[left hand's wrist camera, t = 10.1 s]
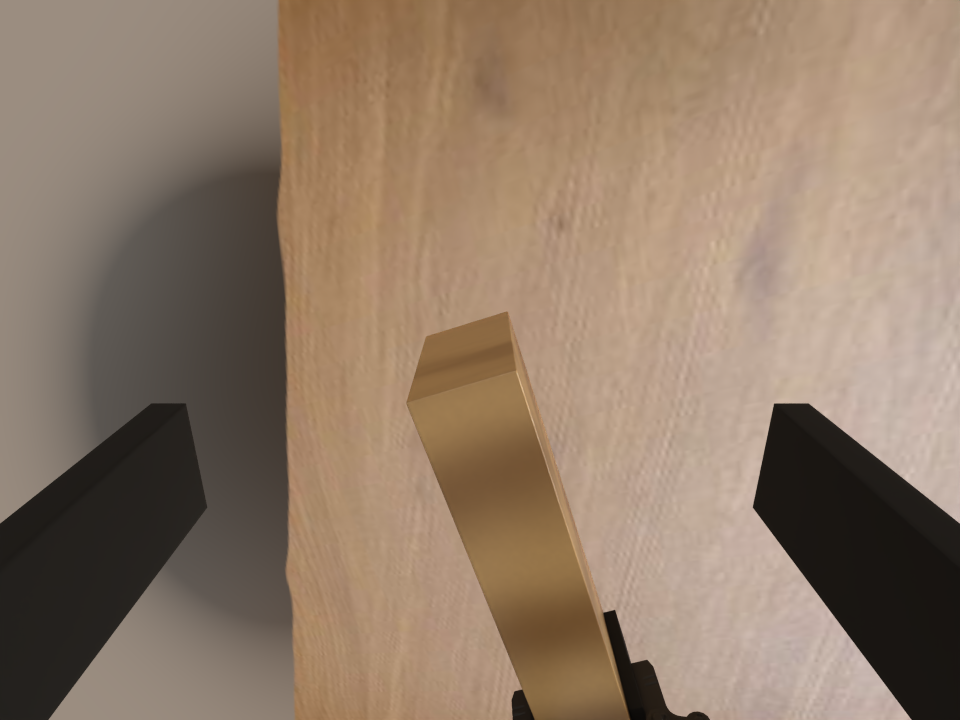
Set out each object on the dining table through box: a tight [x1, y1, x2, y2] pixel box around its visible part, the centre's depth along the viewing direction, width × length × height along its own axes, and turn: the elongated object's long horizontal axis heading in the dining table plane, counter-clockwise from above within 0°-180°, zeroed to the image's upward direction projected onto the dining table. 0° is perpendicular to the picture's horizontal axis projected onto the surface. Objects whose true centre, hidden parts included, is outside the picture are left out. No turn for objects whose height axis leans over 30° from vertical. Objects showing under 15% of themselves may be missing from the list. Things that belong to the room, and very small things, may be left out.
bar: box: [406, 312, 632, 720], centre depth 30 cm, size 25×4×8 cm, turn 18°
